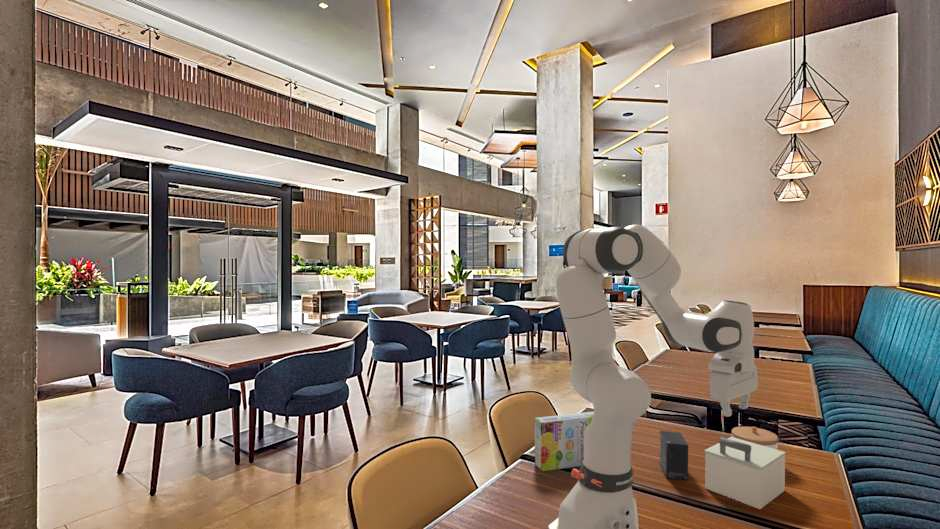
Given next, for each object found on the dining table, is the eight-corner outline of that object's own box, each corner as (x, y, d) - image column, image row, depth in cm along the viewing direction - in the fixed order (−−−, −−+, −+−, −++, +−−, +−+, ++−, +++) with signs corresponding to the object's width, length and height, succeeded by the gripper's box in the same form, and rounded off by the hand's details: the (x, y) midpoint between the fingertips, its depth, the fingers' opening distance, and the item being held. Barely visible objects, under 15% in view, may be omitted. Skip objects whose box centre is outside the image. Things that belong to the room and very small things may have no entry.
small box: (689, 480, 138) (689, 444, 137) (665, 478, 139) (665, 443, 139) (681, 465, 148) (681, 431, 148) (658, 463, 149) (658, 430, 149)
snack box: (595, 456, 154) (594, 410, 154) (604, 464, 149) (604, 416, 149) (534, 464, 149) (533, 416, 149) (541, 472, 144) (541, 422, 143)
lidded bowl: (783, 473, 142) (783, 436, 141) (735, 467, 146) (735, 432, 146) (771, 456, 154) (772, 422, 153) (728, 451, 158) (728, 418, 157)
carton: (759, 509, 122) (760, 470, 122) (705, 488, 133) (705, 452, 133) (784, 490, 131) (785, 454, 131) (731, 472, 143) (731, 439, 142)
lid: (760, 470, 121) (760, 451, 121) (704, 452, 133) (704, 435, 133) (785, 454, 131) (785, 437, 131) (731, 438, 143) (731, 422, 142)
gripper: (740, 353, 137) (740, 401, 137) (704, 364, 124) (705, 417, 125) (764, 357, 132) (764, 407, 132) (729, 368, 119) (730, 423, 120)
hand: (735, 412), depth 128 cm, fingers open, 8 cm apart
